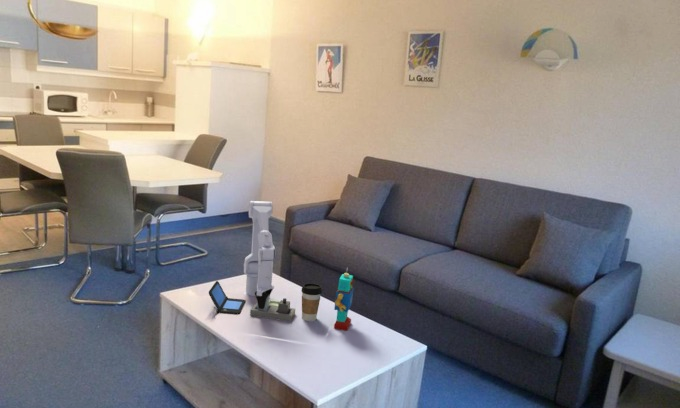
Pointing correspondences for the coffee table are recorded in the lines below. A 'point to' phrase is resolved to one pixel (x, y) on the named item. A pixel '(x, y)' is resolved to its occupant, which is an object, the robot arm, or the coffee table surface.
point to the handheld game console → (225, 301)
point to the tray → (273, 303)
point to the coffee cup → (310, 301)
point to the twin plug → (284, 306)
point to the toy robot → (343, 301)
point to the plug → (265, 304)
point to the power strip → (272, 313)
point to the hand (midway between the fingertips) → (262, 306)
